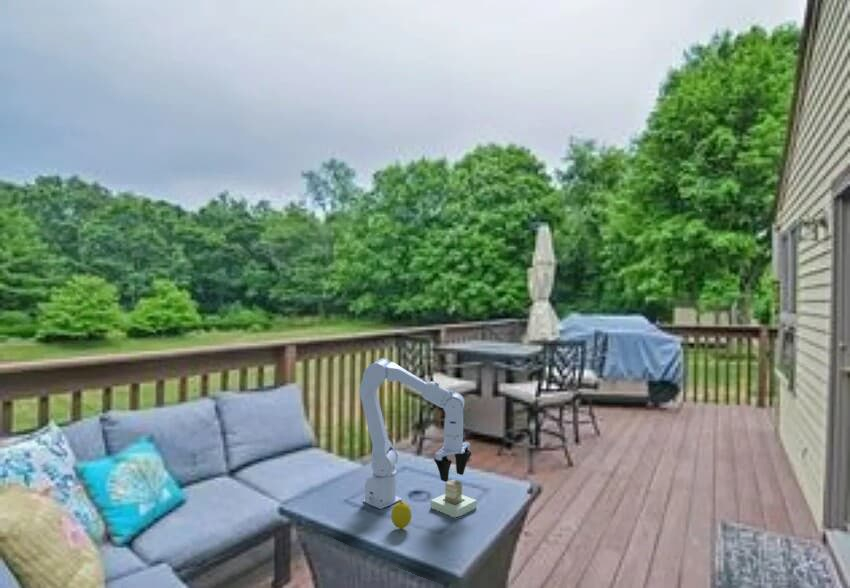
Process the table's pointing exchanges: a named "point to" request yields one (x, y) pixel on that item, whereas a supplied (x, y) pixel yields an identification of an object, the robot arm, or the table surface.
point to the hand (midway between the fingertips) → (452, 477)
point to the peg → (453, 492)
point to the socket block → (452, 509)
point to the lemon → (401, 515)
